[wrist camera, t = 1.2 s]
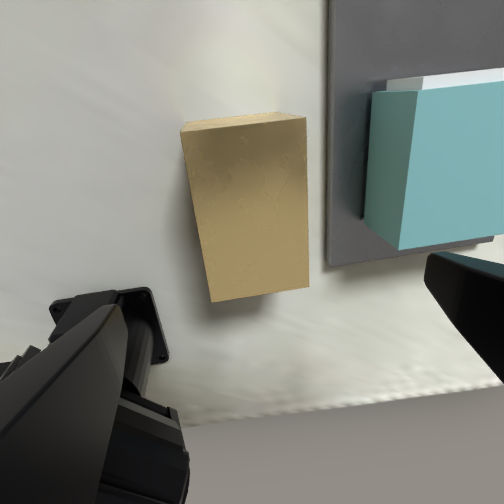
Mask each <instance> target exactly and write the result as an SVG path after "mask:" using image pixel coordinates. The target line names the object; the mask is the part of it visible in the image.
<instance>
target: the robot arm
mask: <svg viewBox="0 0 504 504" xmlns="http://www.w3.org/2000/svg"><path fill="white" fill-rule="evenodd" d="M424 282H425V285H426V287H427V288H428V290H429V291H430V292H431V294H432V295H433V297H434V298H435V300H436V301H437V302H438V304H439V305H440V307H441V308H442V310H443V311H444V312H445V314H446V315H447V317H448V318H449V320H450V321H451V322H452V324H453V325H454V326H455V327H456V329H457V330H458V331H459V332H460V334H461V335H462V336H463V337H464V338H465V339H466V341H467V342H468V343H469V344H470V345H471V346H472V348H473V349H474V350H475V351H476V352H477V353H478V355H479V356H480V357H481V358H482V359H483V360H484V361H485V363H486V364H487V365H488V366H489V367H490V368H491V370H492V371H493V372H494V373H495V374H496V375H497V377H498V378H499V379H500V380H501V381H502V382H503V384H504V264H500V263H495V262H490V261H486V260H481V259H477V258H472V257H468V256H463V255H458V254H454V253H449V252H444V251H443V252H436V253H431V254H430V255H429V256H428V257H427V262H426V268H425V274H424ZM142 293H145V294H147V296H142V295H141V294H142ZM56 307H60V308H61V309H62V310H60V309H57V308H56ZM49 311H50V313H51V316H52V318H53V320H54V322H55V324H56V327H55V329H54V330H53V332H52V333H51V335H50V337H49V338H48V340H49V342H50V343H49V345H48V347H47V348H45V349H44V350H43V351H41V350H40V349H38V348H36V347H33V346H31V345H30V346H29V347H28V349H27V350H26V351H25V352H24V354H23V355H22V356H19V355H17V356H16V357H15V359H14V360H12V362H5V363H0V504H185V500H186V496H187V493H188V487H189V477H190V469H189V461H190V459H189V453H188V452H187V451H186V449H185V444H184V440H183V436H182V432H181V427H180V423H179V419H178V414H177V411H176V410H175V409H173V408H170V407H167V408H165V407H163V406H161V405H159V404H156V403H154V402H152V401H150V400H147V399H145V398H144V396H145V391H146V386H147V380H148V375H149V370H150V365H153V364H159V363H164V362H166V361H168V359H169V350H168V347H167V343H166V340H165V336H164V333H163V329H162V326H161V322H160V319H159V315H158V312H157V308H156V305H155V301H154V298H153V294H152V291H151V290H150V289H149V288H147V287H139V288H132V289H126V290H119V291H116V290H108V291H102V292H95V293H89V294H82V295H77V296H75V297H74V298H68V299H61V300H56V301H54V302H53V303H52V304H51V305H50V307H49ZM40 351H41V352H40ZM160 355H164V356H160Z"/></svg>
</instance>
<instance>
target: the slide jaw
mask: <svg viewBox="0 0 504 504" xmlns="http://www.w3.org/2000/svg"><path fill="white" fill-rule="evenodd" d="M364 224H365V225H366V226H368V227H369V228H370V229H371V230H373V231H374V232H375V233H377V234H378V235H379V236H380V237H382V238H383V239H384V240H386V241H387V242H388V243H389V244H391V245H392V246H393V247H395V248H396V249H397V250H404V249H410V248H416V247H423V246H429V245H436V244H442V243H448V242H455V241H461V240H468V239H474V238H481V237H487V236H493V235H500V234H504V68H496V69H487V70H477V71H468V72H459V73H449V74H440V75H431V76H422V77H412V78H403V79H394V80H387V88H386V91H380V92H372V106H371V121H370V136H369V151H368V166H367V181H366V196H365V211H364Z"/></svg>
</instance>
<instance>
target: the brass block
mask: <svg viewBox="0 0 504 504" xmlns="http://www.w3.org/2000/svg"><path fill="white" fill-rule="evenodd" d="M180 136H181V142H182V147H183V152H184V158H185V163H186V168H187V174H188V179H189V184H190V190H191V195H192V200H193V206H194V211H195V216H196V222H197V227H198V233H199V238H200V243H201V249H202V254H203V259H204V265H205V270H206V275H207V281H208V286H209V291H210V297H211V302H212V303H213V302H219V301H225V300H231V299H237V298H243V297H250V296H256V295H262V294H268V293H274V292H281V291H287V290H293V289H299V288H305V287H309V244H308V190H307V135H306V117H300V116H295V115H290V114H284V113H279V112H270V113H262V114H253V115H244V116H235V117H227V118H218V119H209V120H200V121H191V122H186V124H185V125H184V127H183V128H182V130H181V131H180Z"/></svg>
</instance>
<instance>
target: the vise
mask: <svg viewBox="0 0 504 504" xmlns="http://www.w3.org/2000/svg"><path fill="white" fill-rule="evenodd" d="M496 68H504V0H328V93H327V192H326V261H327V262H328V264H329V265H330V266H331V267H333V266H340V265H346V264H352V263H359V262H365V261H371V260H378V259H384V258H390V257H397V256H403V255H409V254H416V253H422V252H428V251H435V250H441V249H447V248H454V247H460V246H466V245H473V244H479V243H486V242H492V241H493V239H494V235H493V236H487V237H481V238H474V239H468V240H461V241H455V242H448V243H442V244H436V245H429V246H423V247H416V248H410V249H404V250H397V249H396V248H395V247H393V246H392V245H391V244H389V243H388V242H387V241H386V240H384V239H383V238H382V237H380V236H379V235H378V234H377V233H375V232H374V231H373V230H371V229H370V228H369V227H368V226H366V225H365V224H364V211H365V196H366V181H367V166H368V151H369V136H370V121H371V106H372V92H380V91H386V88H387V80H394V79H403V78H412V77H422V76H431V75H440V74H449V73H459V72H468V71H477V70H487V69H496Z"/></svg>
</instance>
